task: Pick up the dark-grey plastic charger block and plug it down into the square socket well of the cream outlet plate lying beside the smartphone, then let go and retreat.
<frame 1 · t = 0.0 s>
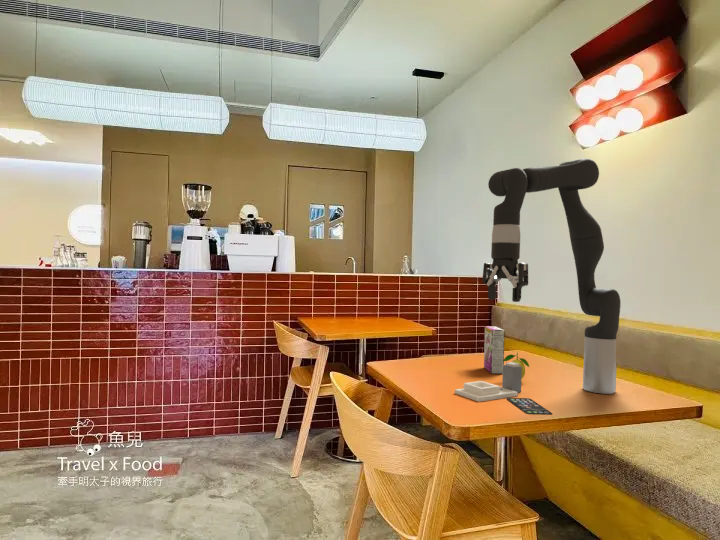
hand: (503, 300, 130), 29 cm above the table, fingers open, 8 cm apart
lemon: (515, 382, 162), on the table
charger: (511, 391, 148), on the table
smartphone: (528, 408, 132), on the table
outlet plate: (486, 394, 143), on the table
candy bar box: (493, 371, 179), on the table
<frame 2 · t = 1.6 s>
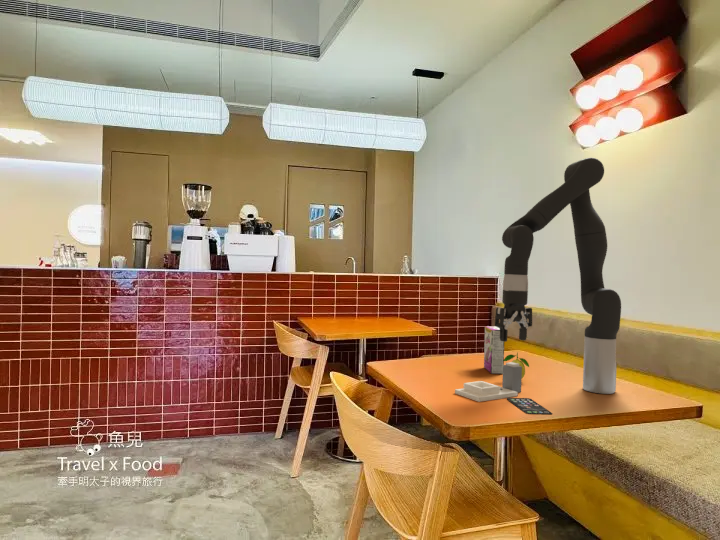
hand: (513, 340, 148), 16 cm above the table, fingers open, 8 cm apart
nothing on the table moved.
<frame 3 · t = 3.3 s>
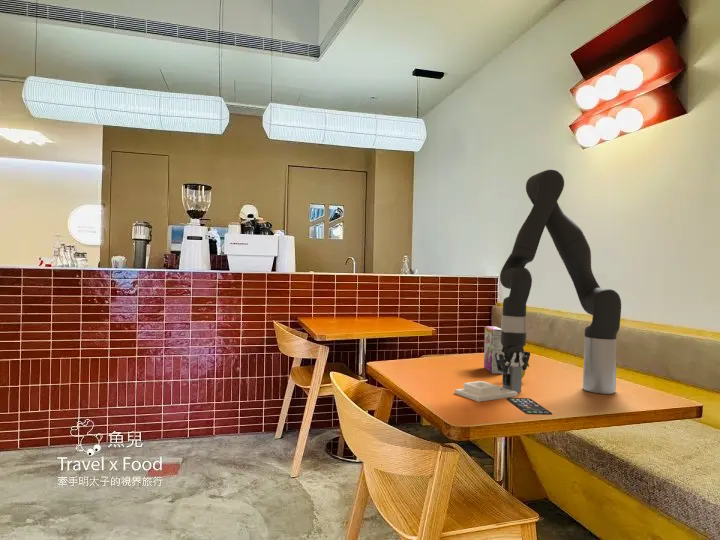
hand: (511, 384, 148), 2 cm above the table, fingers closed on charger, 4 cm apart
charger: (511, 391, 148), on the table, touching gripper
everything else where it was.
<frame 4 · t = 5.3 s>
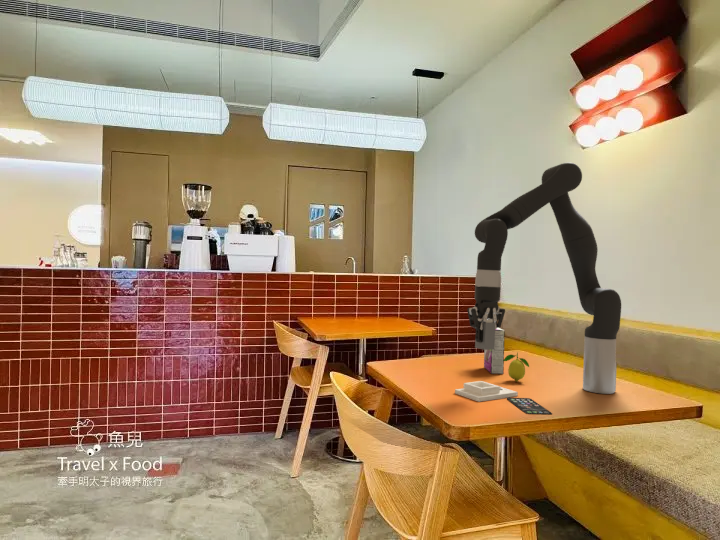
hand: (484, 341, 143), 16 cm above the table, fingers closed on charger, 4 cm apart
charger: (484, 348, 143), point 14 cm above the table, touching gripper
everything else where it was.
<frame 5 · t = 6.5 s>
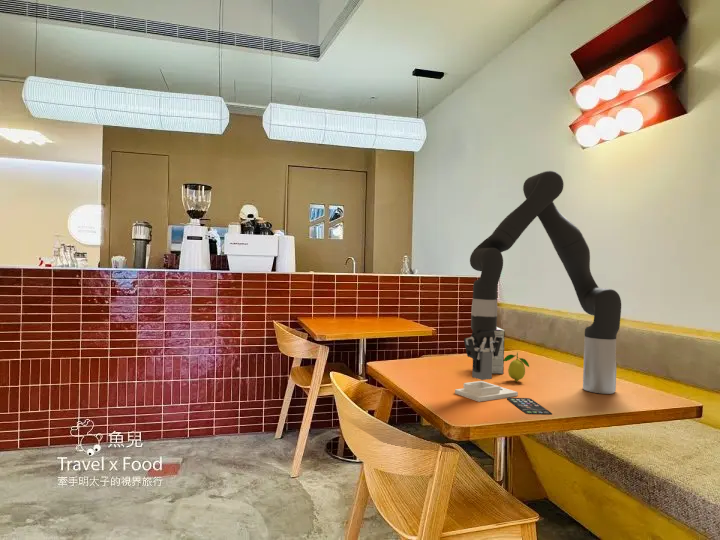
hand: (482, 371, 142), 7 cm above the table, fingers closed on charger, 4 cm apart
charger: (481, 377, 142), point 5 cm above the table, touching gripper
everything else where it was.
when the fingers open (4 cm above the table, at t = 7.6 s): charger stays where it is, resting on outlet plate.
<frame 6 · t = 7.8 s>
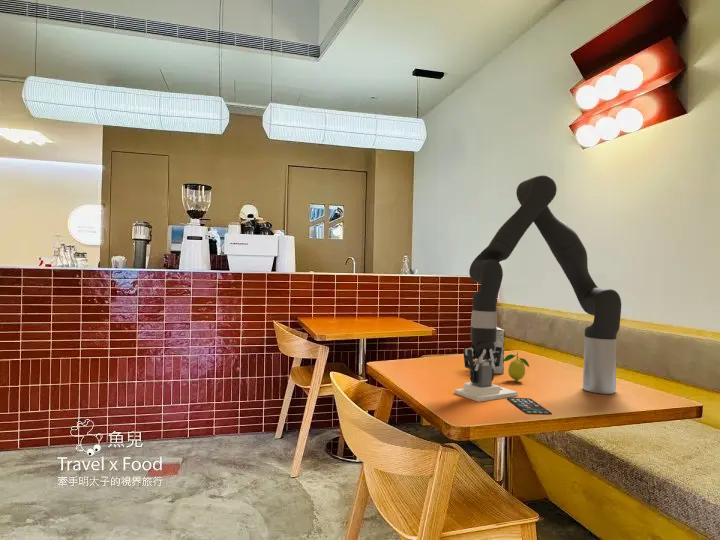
hand: (481, 381, 142), 4 cm above the table, fingers open, 5 cm apart
charger: (481, 391, 142), point 1 cm above the table, touching outlet plate
everything else where it was.
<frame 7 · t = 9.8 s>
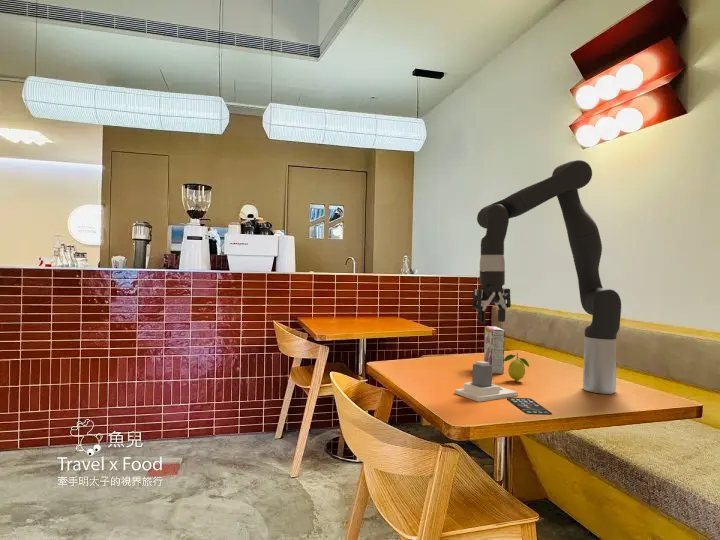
hand: (491, 322, 146), 22 cm above the table, fingers open, 8 cm apart
nothing on the table moved.
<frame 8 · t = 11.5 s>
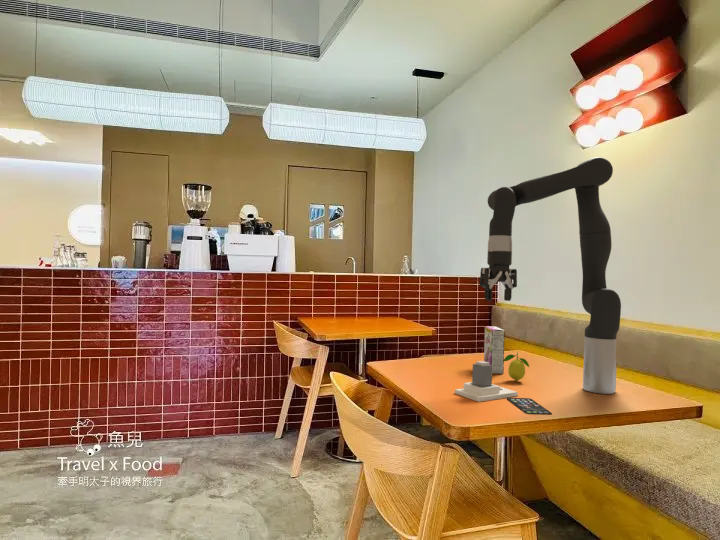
hand: (498, 300, 152), 28 cm above the table, fingers open, 8 cm apart
nothing on the table moved.
at the end: charger 0.0 cm from the target spot on the outlet plate, point 1.2 cm above the outlet plate's base; charger tilted 0°; the gripper is holding nothing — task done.
